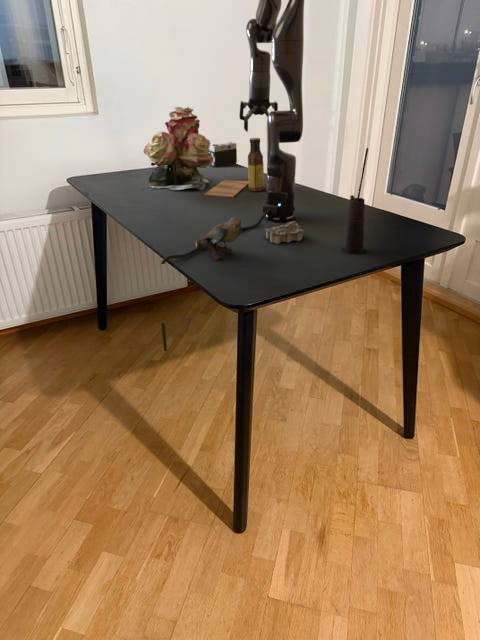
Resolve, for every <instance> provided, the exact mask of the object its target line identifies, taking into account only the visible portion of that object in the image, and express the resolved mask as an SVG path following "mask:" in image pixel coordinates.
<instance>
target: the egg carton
mask: <svg viewBox="0 0 480 640" xmlns="http://www.w3.org/2000/svg"><path fill="white" fill-rule="evenodd" d="M264 229H265V233H266V235H265V238H266V239H267V240H269V241H270V243H273V244H277V245H278V244H280V243H282V242H284V243H291V241H297V242H300V241H302V240H303V236H304V233H305V231H304V229H302V228H300V226H299V224H298V223H297V222H296V221H295V220H294V221H288V222H286V223H285V224H281V225H280V226H273V227H271V228H264Z"/></svg>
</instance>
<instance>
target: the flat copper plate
mask: <svg viewBox="0 0 480 640" xmlns="http://www.w3.org/2000/svg"><path fill="white" fill-rule="evenodd" d="M247 186H249V183H248V180H247V181H244V180H232V179H231V180H230V179H223V180H221V181H220V182H219V183H218V184H216V185H214V186H213V187H212V188H211V189H209V190H208V191H206V192H205V193H204V196H205V197H207V196H208V197H220V198H231V199H232V198H235V197H236V196H237V195H238V194H239V193H240V192H242V190H244V189H245V188H246V187H247Z"/></svg>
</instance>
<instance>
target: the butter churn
mask: <svg viewBox="0 0 480 640" xmlns="http://www.w3.org/2000/svg"><path fill="white" fill-rule="evenodd" d="M364 153H365V155H364V159H363V164H362V170H361V176H360V181H359V187H358V193H357V197H355V195H354V194H353V195H350V196H349V201H348V202H349V203H348V208H347V209H348V210H347V218H346V219H347V220H346V232H345V242H344V243H345V244H344V251H345V252H346V253H348V254H353V255H355V254H361V253H363V252H364V249H365V247H364V246H365V245H364V241H365V240H364V237H365V232H364V231H365V201H366V200H365V199H364V198H363V197H361V191H362V185H363V181H364V180H363V179H364V175H365V174H364V173H365V168H366V164H367V159H368V153H369V148H368V147H366V149H365V152H364Z"/></svg>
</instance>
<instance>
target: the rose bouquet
mask: <svg viewBox="0 0 480 640" xmlns="http://www.w3.org/2000/svg"><path fill="white" fill-rule="evenodd" d="M193 111H194V108H191V107H189V106H187V107H185V108H184V107H182V106H175V107H174V109H173V110H171V111H169V112H168V116H169V118H170V119H169V120H168V121H165V122H164V125H165V126H166V130H167V132H166V131H161V130H159V131H157V132H156V133H155V134H153V136H152V138H151V140H149V141H148V142H147V145H145V146H144V149H143V154H144V155H147V157H148V158H149V159H150V161H151V163H150V166H152V167H155V166H156V167H155V168H153V171H152V172H151V175H150V176H149V178H148V187H149V188H154V189H169V190H171V191H182V190H185V189H197V190H198V191H202V190H204V189H206V186H207V184H209V183H210V180H208V179H207V177H204V175H203V174H202V173H200V172H199V170H198V168H199V169H206V168H207V167H208V166H210V165H211V164H212V163H213V157H212V155H210V146H211V141H210V140H209V139H208V138H207V137H206V136H204V135H202V134H200V133H199V132H200V131H199V128H200V122H201V121H200V119H199V118H198V115H196V114H194V113H193Z"/></svg>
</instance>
